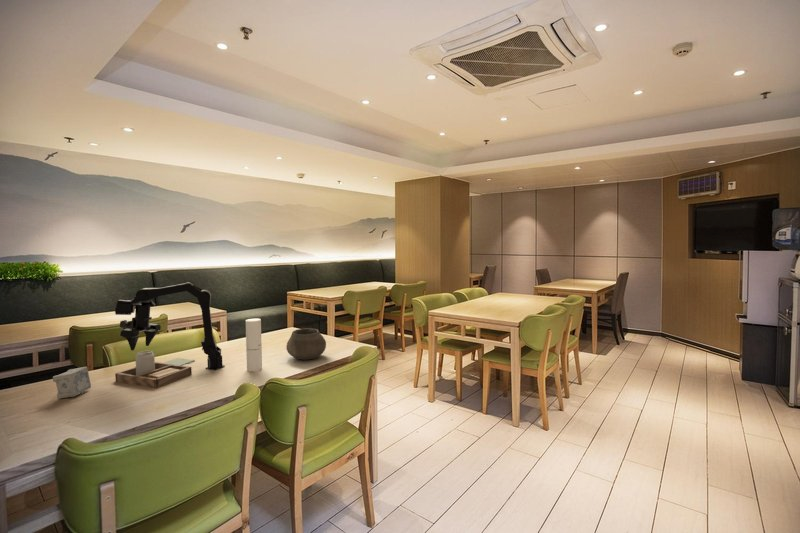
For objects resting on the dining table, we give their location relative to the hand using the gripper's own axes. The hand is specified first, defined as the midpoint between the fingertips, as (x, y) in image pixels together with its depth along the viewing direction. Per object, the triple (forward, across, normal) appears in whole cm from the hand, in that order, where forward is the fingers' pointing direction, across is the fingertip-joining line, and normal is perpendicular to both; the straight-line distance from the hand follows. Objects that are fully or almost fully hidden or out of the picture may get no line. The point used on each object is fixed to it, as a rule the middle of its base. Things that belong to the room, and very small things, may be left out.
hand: (140, 348), depth 181 cm
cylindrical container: (+9, -15, +49) cm, 52 cm away
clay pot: (+6, -36, +69) cm, 78 cm away
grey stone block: (+16, +21, -12) cm, 29 cm away
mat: (+12, -21, +4) cm, 25 cm away
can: (+14, -1, +4) cm, 14 cm away
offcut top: (+10, +2, +15) cm, 18 cm away
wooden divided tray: (+13, +1, +10) cm, 16 cm away
